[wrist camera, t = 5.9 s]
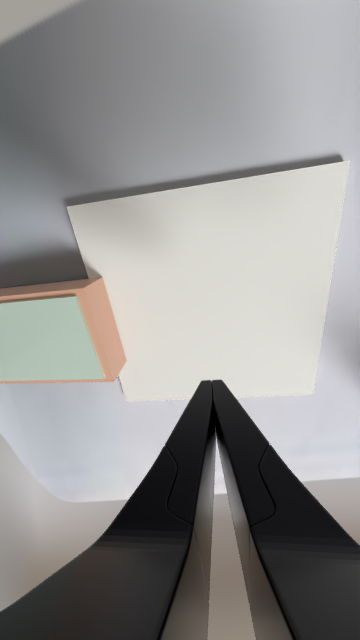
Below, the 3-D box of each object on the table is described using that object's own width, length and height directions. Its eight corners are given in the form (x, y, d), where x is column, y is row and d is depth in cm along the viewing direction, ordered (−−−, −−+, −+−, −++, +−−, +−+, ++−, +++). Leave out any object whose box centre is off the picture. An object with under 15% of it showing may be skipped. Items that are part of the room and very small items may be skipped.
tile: (126, 360, 18) (23, 364, 20) (102, 277, 15) (-16, 290, 17) (113, 383, 16) (-4, 385, 18) (81, 289, 13) (-55, 302, 15)
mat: (128, 397, 21) (126, 401, 20) (70, 206, 14) (66, 206, 14) (310, 390, 19) (313, 394, 18) (344, 162, 12) (350, 160, 11)
